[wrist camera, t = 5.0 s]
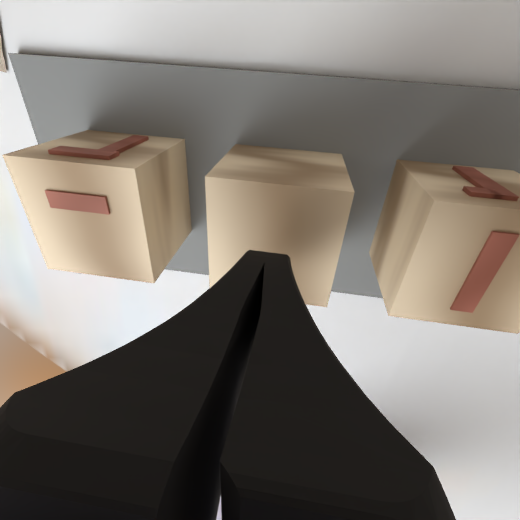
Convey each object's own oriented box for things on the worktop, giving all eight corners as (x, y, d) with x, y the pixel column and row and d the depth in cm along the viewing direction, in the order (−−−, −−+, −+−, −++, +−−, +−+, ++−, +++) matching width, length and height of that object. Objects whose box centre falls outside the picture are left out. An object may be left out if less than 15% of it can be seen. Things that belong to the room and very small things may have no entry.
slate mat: (80, 253, 20) (75, 257, 20) (17, 53, 14) (8, 53, 14) (492, 307, 18) (496, 313, 17) (627, 97, 12) (638, 99, 11)
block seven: (109, 220, 18) (46, 269, 14) (86, 126, 15) (-2, 151, 11) (191, 230, 17) (153, 284, 13) (184, 135, 15) (132, 165, 10)
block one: (368, 252, 17) (389, 317, 12) (398, 156, 14) (437, 197, 9) (464, 264, 16) (519, 335, 12) (515, 166, 13) (611, 215, 9)
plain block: (234, 236, 17) (209, 291, 13) (235, 144, 14) (204, 176, 10) (323, 246, 17) (326, 307, 13) (341, 153, 14) (354, 191, 10)
